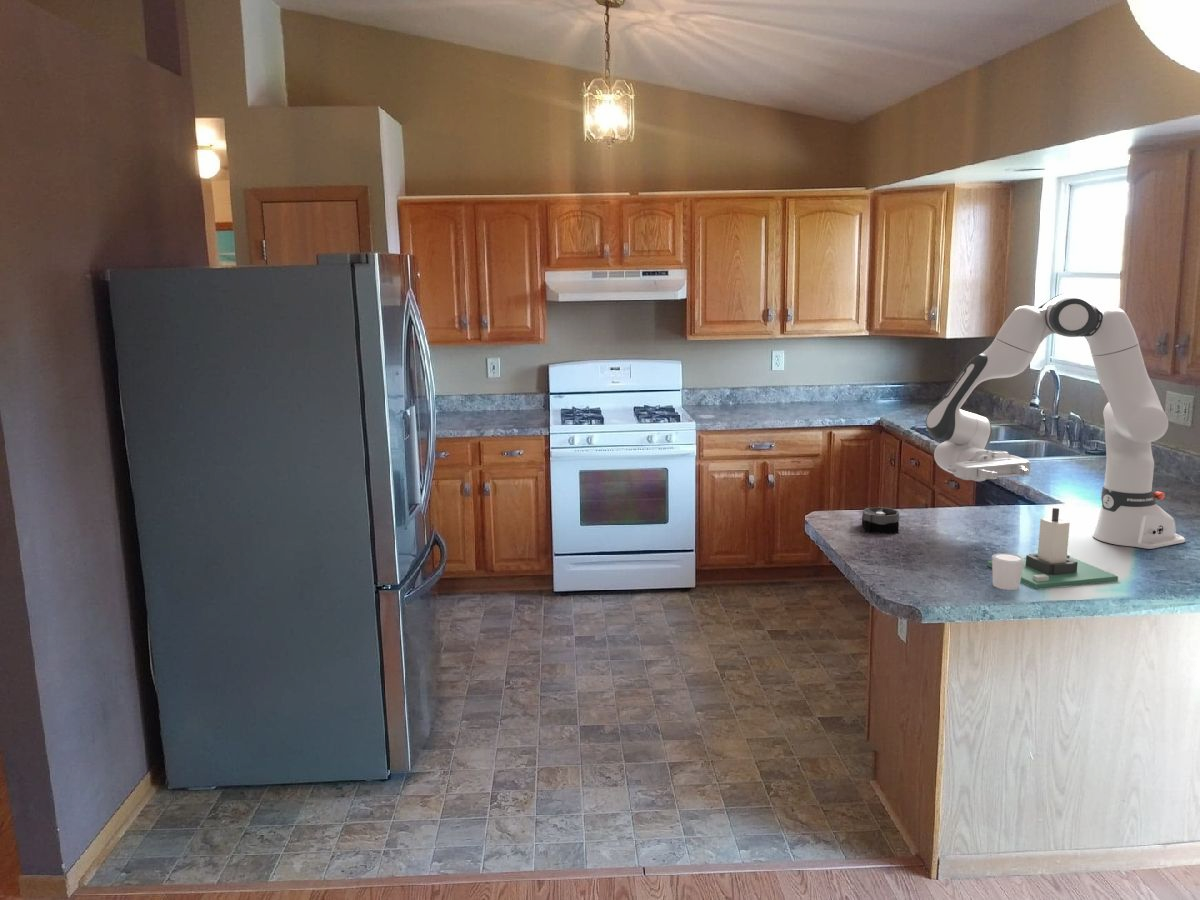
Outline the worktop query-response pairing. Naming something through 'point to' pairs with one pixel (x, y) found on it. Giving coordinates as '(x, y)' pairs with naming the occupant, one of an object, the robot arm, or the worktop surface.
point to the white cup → (1007, 570)
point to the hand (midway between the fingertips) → (1011, 474)
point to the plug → (1053, 539)
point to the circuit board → (1060, 573)
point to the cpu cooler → (880, 520)
